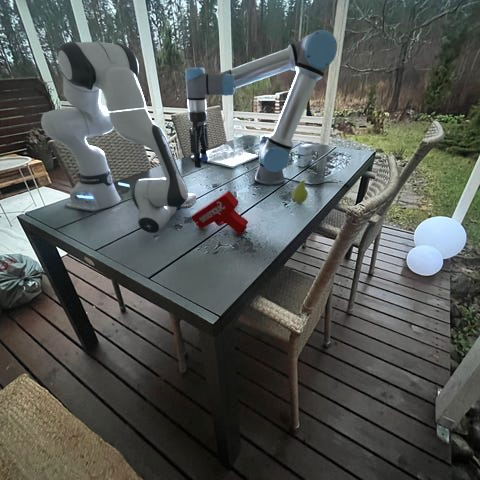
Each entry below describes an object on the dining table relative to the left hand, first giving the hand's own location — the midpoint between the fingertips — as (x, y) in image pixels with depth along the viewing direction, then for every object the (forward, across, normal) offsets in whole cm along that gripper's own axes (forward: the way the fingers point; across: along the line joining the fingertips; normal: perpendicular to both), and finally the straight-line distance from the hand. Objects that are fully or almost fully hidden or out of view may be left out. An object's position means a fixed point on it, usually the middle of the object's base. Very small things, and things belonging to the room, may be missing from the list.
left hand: (176, 191), depth 116 cm
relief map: (+74, -7, +6) cm, 75 cm away
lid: (+18, -7, -10) cm, 22 cm away
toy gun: (-18, -22, +6) cm, 29 cm away
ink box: (+64, -58, +6) cm, 87 cm away
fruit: (+10, -53, +6) cm, 54 cm away
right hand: (+18, -7, -6) cm, 20 cm away
